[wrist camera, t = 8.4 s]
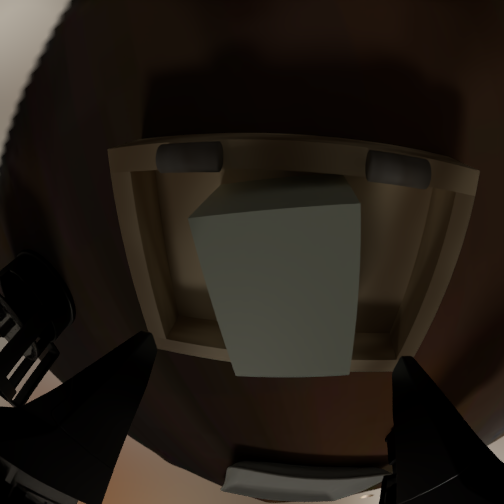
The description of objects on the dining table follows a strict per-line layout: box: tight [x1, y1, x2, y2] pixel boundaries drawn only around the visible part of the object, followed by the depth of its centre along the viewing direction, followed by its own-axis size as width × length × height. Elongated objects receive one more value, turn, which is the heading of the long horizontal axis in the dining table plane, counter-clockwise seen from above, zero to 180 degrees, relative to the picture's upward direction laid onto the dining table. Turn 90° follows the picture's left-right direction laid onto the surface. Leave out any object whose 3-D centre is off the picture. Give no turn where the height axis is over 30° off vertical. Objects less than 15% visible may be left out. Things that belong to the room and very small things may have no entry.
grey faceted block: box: [188, 174, 361, 377], centre depth 13 cm, size 6×9×4 cm, turn 10°
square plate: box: [221, 461, 392, 502], centre depth 37 cm, size 27×27×4 cm
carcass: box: [108, 133, 480, 372], centre depth 14 cm, size 17×13×4 cm
